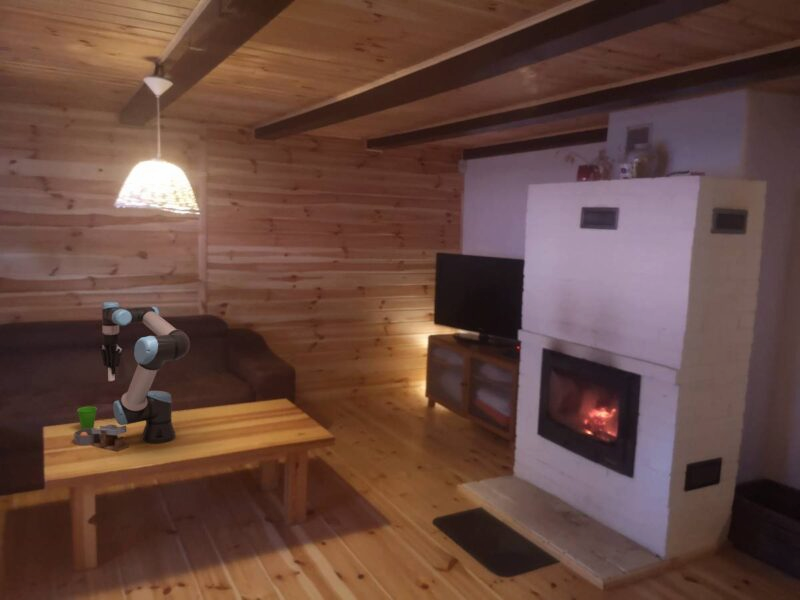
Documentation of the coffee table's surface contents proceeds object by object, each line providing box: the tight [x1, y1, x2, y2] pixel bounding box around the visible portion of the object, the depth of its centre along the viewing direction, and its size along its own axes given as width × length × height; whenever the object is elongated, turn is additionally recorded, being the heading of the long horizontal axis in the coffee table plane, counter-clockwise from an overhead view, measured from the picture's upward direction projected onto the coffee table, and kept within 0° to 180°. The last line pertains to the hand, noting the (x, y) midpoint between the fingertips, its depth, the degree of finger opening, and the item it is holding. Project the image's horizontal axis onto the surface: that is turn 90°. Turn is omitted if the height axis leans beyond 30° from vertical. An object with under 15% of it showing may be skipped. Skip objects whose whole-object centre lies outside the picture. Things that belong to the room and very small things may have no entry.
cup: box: [76, 406, 98, 430], centre depth 315 cm, size 9×9×11 cm
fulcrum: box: [90, 425, 130, 453], centre depth 295 cm, size 16×9×9 cm, turn 68°
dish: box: [73, 427, 101, 446], centre depth 300 cm, size 11×11×4 cm
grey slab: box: [91, 424, 128, 436], centre depth 298 cm, size 16×12×3 cm
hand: (111, 380), depth 311 cm, fingers closed
